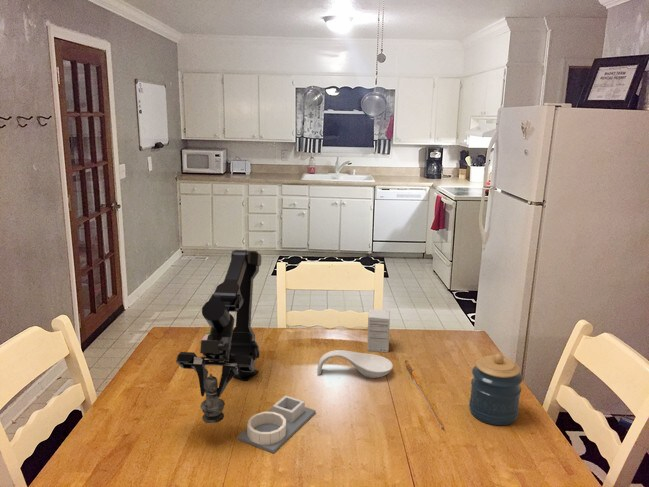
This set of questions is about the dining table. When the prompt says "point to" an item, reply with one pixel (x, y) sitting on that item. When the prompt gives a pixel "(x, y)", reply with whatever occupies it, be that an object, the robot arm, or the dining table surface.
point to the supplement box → (378, 330)
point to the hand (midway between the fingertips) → (210, 396)
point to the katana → (415, 379)
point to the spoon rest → (361, 362)
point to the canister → (495, 390)
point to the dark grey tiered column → (212, 402)
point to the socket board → (276, 424)
